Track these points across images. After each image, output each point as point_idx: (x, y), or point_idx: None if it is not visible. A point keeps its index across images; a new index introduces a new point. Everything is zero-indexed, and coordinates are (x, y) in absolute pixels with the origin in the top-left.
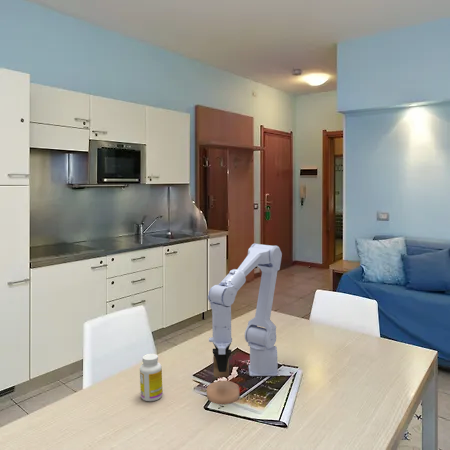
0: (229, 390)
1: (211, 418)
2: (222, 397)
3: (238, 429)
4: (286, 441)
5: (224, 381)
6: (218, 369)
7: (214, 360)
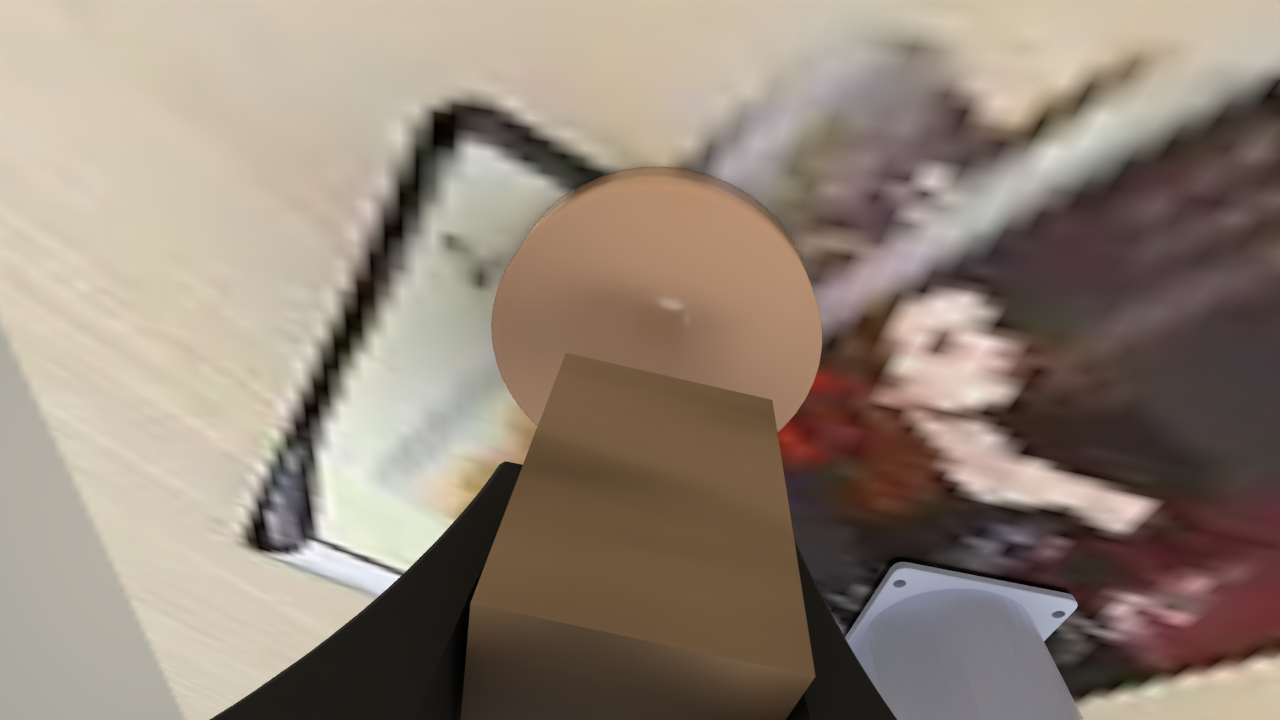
0: None
1: (277, 144)
2: (495, 313)
3: (164, 317)
4: (117, 509)
5: (792, 394)
6: (490, 482)
7: (488, 560)
